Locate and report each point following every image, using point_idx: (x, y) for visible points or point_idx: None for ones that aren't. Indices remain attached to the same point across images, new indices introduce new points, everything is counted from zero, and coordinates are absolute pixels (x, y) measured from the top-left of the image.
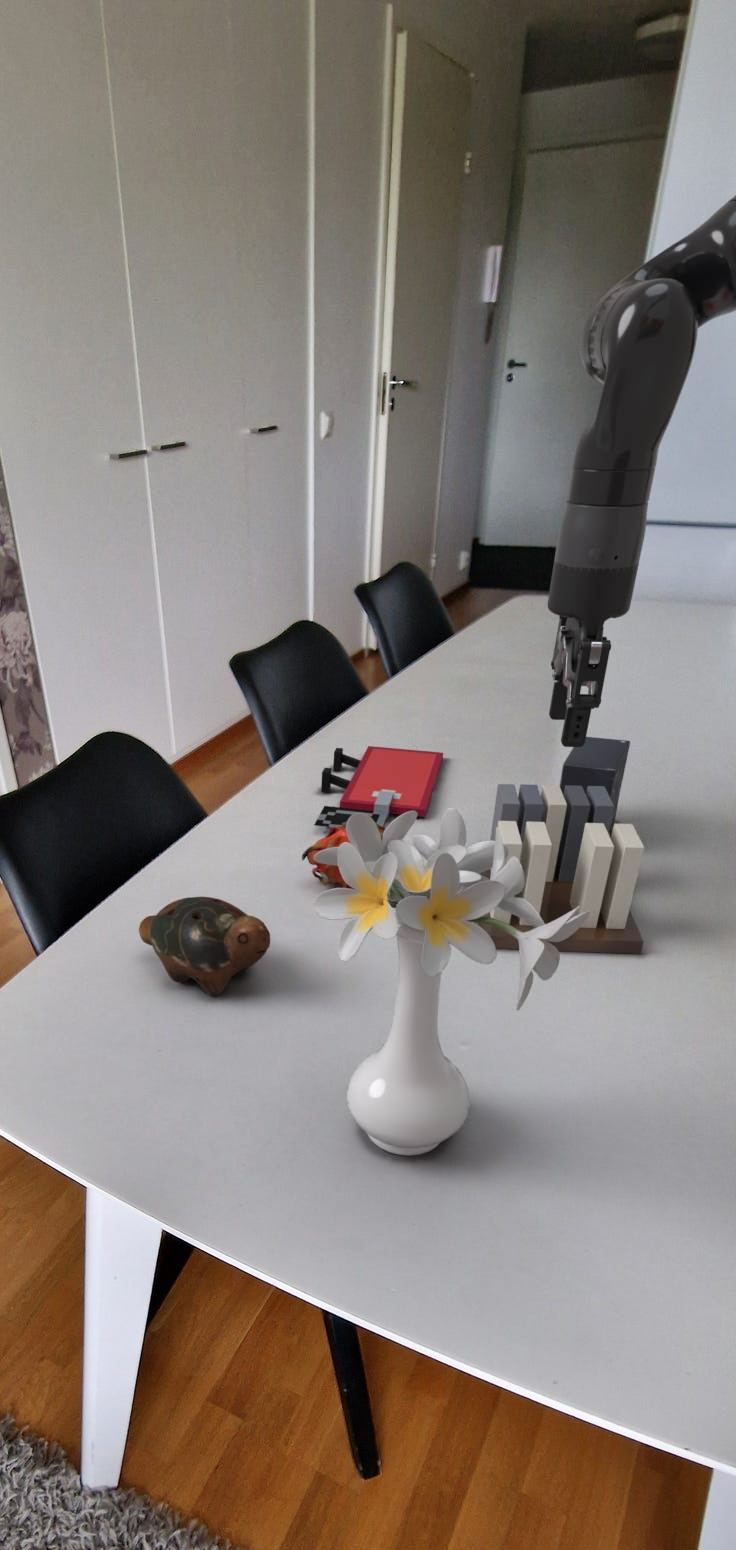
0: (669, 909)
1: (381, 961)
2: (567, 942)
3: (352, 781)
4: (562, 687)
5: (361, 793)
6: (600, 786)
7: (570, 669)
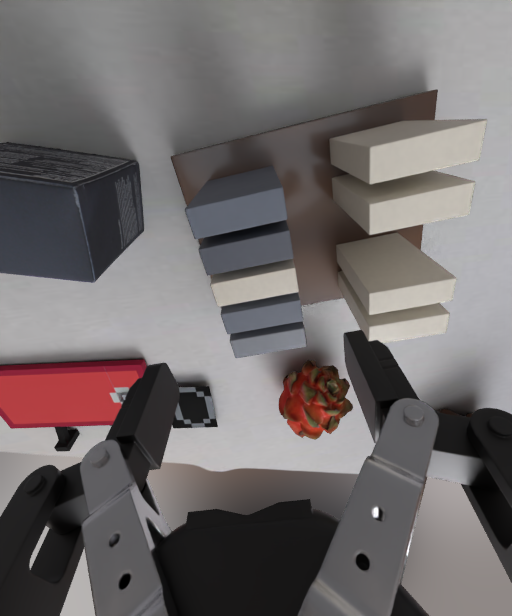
0: (288, 38)
1: (431, 342)
2: None
3: (111, 423)
4: (153, 447)
5: None
6: (190, 216)
7: (401, 576)
